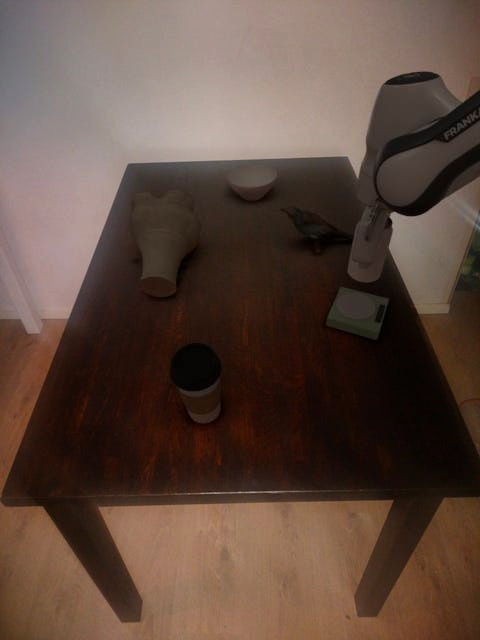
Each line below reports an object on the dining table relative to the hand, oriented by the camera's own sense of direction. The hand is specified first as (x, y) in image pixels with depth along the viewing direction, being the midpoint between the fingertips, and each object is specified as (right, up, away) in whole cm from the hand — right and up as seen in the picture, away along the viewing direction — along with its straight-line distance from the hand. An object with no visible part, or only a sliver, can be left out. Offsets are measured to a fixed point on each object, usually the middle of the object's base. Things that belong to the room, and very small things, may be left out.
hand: (368, 254), depth 73 cm
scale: (+2, -12, +13) cm, 17 cm away
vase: (-44, 0, +26) cm, 51 cm away
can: (0, -3, +4) cm, 5 cm away
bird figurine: (-3, +8, +32) cm, 33 cm away
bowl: (-20, +28, +52) cm, 63 cm away
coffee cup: (-31, -29, -2) cm, 43 cm away
